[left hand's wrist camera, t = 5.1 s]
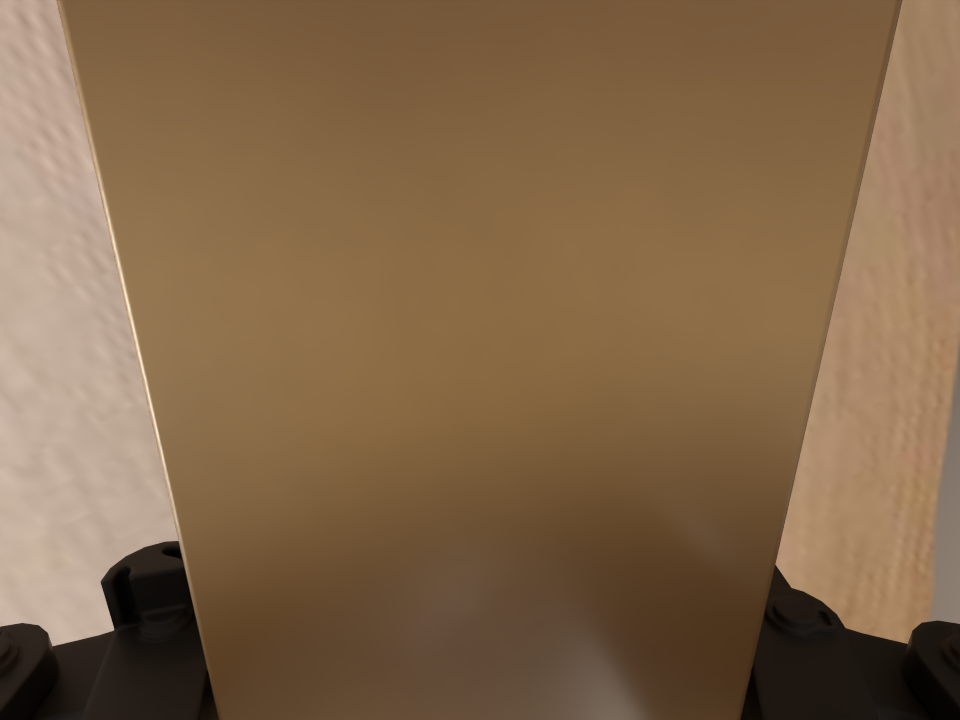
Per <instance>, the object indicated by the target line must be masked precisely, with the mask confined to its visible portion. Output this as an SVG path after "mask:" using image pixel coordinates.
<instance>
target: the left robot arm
mask: <svg viewBox="0 0 960 720" xmlns="http://www.w3.org/2000/svg"><path fill="white" fill-rule="evenodd" d="M101 585H102V588H103V592H104V595H105V598H106V602H107V605H108V609H109V612H110V615H111V619H112V622H113V626H114V631H111V632H108V633H105V634H102V635H99V636H94V637H90V638H86V639H82V640H78V641H73V642H69V643H65V644H61V645H57V646H53V647H52V644H51V641H50V638H49V635H48V633H47V632H46V631H45V630H44V629H42V628H41V627H40V626H39V625H32V624H25V623H20V624H14V625H8V626H1V627H0V720H219V717H218V713H217V708H216V704H215V700H214V695H213V691H212V686H211V682H210V677H209V673H208V668H207V664H206V660H205V655H204V651H203V646H202V642H201V637H200V633H199V629H198V624H197V620H196V615H195V611H194V606H193V602H192V598H191V593H190V589H189V584H188V580H187V575H186V571H185V567H184V562H183V558H182V553H181V549H180V544H179V541H171V542H163V543H159V544H155V545H151V546H148V547H144V548H142V549H140V550H138V551H136V552H134V553H132V554H130V555H128V556H126V557H124V558H123V559H122V560H121V561H119V562H118V563H117V564H115V565H114V566H113V567H111V568H110V569H109V571H108V572H107V574H106V575H105V576H104V578H103V579H102V580H101ZM740 720H960V624H956V623H950V622H944V621H931V622H924V623H921V624H920V625H919V626H917V627H916V628H915V629H914V630H913V631H912V634H911V637H910V640H909V642H908V644H905V643H901V642H897V641H893V640H888V639H884V638H880V637H876V636H871V635H867V634H863V633H859V632H856V631H853V630H850V629H846V628H845V627H844V625H843V624H842V622H841V620H840V619H839V617H838V616H837V614H836V613H835V612H833V611H832V610H831V609H830V608H829V607H828V606H826V605H825V604H824V603H823V602H822V601H820V600H818V599H816V598H814V597H812V596H811V595H809V594H807V593H805V592H803V591H800V590H796V589H793V588H791V587H790V585H789V584H788V582H787V581H786V579H785V578H784V577H783V575H782V574H781V572H780V571H779V569H778V568H777V566H776V565H775V568H774V572H773V577H772V581H771V585H770V590H769V594H768V599H767V603H766V608H765V612H764V616H763V621H762V625H761V630H760V634H759V639H758V643H757V648H756V652H755V656H754V661H753V665H752V670H751V674H750V679H749V683H748V688H747V692H746V696H745V701H744V705H743V710H742V714H741V719H740Z"/></svg>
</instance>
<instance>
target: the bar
mask: <svg viewBox="0 0 960 720" xmlns="http://www.w3.org/2000/svg"><path fill="white" fill-rule="evenodd" d="M57 4H58V8H59V13H60V17H61V22H62V26H63V31H64V35H65V39H66V44H67V48H68V53H69V57H70V62H71V66H72V70H73V75H74V79H75V84H76V88H77V93H78V97H79V101H80V106H81V110H82V115H83V119H84V124H85V128H86V133H87V137H88V141H89V146H90V150H91V155H92V159H93V164H94V168H95V172H96V177H97V181H98V186H99V190H100V195H101V199H102V203H103V208H104V212H105V217H106V221H107V226H108V230H109V234H110V239H111V243H112V248H113V252H114V257H115V261H116V265H117V270H118V274H119V279H120V283H121V288H122V292H123V296H124V301H125V305H126V310H127V314H128V319H129V323H130V327H131V332H132V336H133V341H134V345H135V350H136V354H137V358H138V363H139V367H140V372H141V376H142V381H143V385H144V389H145V394H146V398H147V403H148V407H149V412H150V416H151V420H152V425H153V429H154V434H155V438H156V443H157V447H158V451H159V456H160V460H161V465H162V469H163V474H164V478H165V482H166V487H167V491H168V496H169V500H170V505H171V509H172V513H173V518H174V522H175V527H176V531H177V536H178V540H179V544H180V549H181V553H182V558H183V562H184V567H185V571H186V575H187V580H188V584H189V589H190V593H191V598H192V602H193V606H194V611H195V615H196V620H197V624H198V629H199V633H200V637H201V642H202V646H203V651H204V655H205V660H206V664H207V668H208V673H209V677H210V682H211V686H212V691H213V695H214V700H215V704H216V708H217V713H218V717H219V720H740V719H741V714H742V710H743V705H744V701H745V696H746V692H747V688H748V683H749V679H750V674H751V670H752V665H753V661H754V656H755V652H756V648H757V643H758V639H759V634H760V630H761V625H762V621H763V616H764V612H765V608H766V603H767V599H768V594H769V590H770V585H771V581H772V577H773V572H774V568H775V563H776V559H777V554H778V550H779V545H780V541H781V537H782V532H783V528H784V523H785V519H786V514H787V510H788V506H789V501H790V497H791V492H792V488H793V483H794V479H795V474H796V470H797V466H798V461H799V457H800V452H801V448H802V443H803V439H804V434H805V430H806V426H807V421H808V417H809V412H810V408H811V403H812V399H813V395H814V390H815V386H816V381H817V377H818V372H819V368H820V363H821V359H822V355H823V350H824V346H825V341H826V337H827V332H828V328H829V324H830V319H831V315H832V310H833V306H834V301H835V297H836V292H837V288H838V284H839V279H840V275H841V270H842V266H843V261H844V257H845V252H846V248H847V244H848V239H849V235H850V230H851V226H852V221H853V217H854V213H855V208H856V204H857V199H858V195H859V190H860V186H861V181H862V177H863V173H864V168H865V164H866V159H867V155H868V150H869V146H870V142H871V137H872V133H873V128H874V124H875V119H876V115H877V110H878V106H879V102H880V97H881V93H882V88H883V84H884V79H885V75H886V70H887V66H888V62H889V57H890V53H891V48H892V44H893V39H894V35H895V31H896V26H897V22H898V17H899V13H900V8H901V4H902V0H57Z"/></svg>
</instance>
